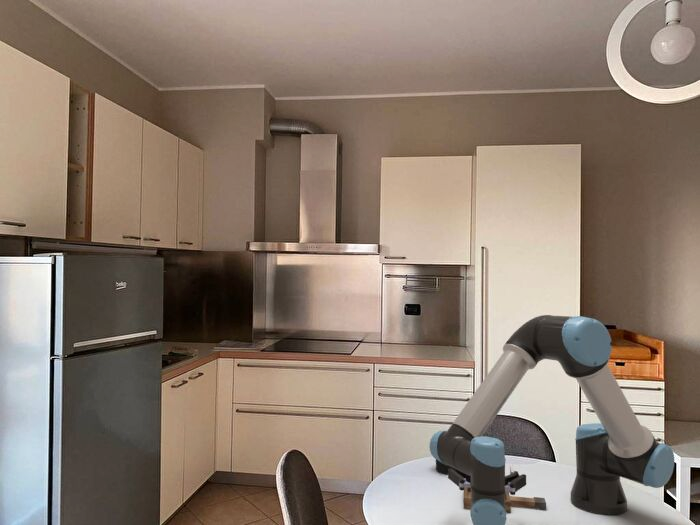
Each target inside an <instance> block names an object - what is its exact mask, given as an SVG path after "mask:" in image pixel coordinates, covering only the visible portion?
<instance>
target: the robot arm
mask: <svg viewBox="0 0 700 525" xmlns="http://www.w3.org/2000/svg"><path fill="white" fill-rule="evenodd" d="M611 343H612V337H611V335H610V333H609V329H607V327H606V326H605V325H604V324H603V323H602V322H600V321H599V320H597V319H595V318H592V317H587V316H581V315H578V316H570V315H569V316H565V315H551V314H543V315H538V316H534V317H533V318H531V319H530V320H528V321H526V322H525V323H524V324H522V325H521V326H519V328H518V329H516V330H515V331H514V332H513V333H512V334H511V336H510V337H509V338H508V339H507V340H506V342H505V344H504V345H503V347H502V351H503V353H502V354H501V355H500V357H499V358H498V360H497V361H496V362H495V364H494V365H493V367H492V368H491V370H490V371H489V372H488V374H487V375H486V376H485V378H484V379H483V380H482V382H481V383H480V385H479V386H478V387H477V389H475V392H474V393H473V394H472V395H471V398H470V399H469V400H468V401H467V402H466V404H465V405H464V407H463V408H462V410H461V411H460V413H459V414H458V415H457V417H456V418H455V419H454V421H453V422H452V424H451V425H450V426H449V428H448V429H447V430H439V431H437V432H434V434H432V436H431V438H430V441H429V451H430V455H431V456H432V458H434V459H435V460H436V459H437V460H438V461H440V462H441V463H443V464H445V465H448V466H450V467H453V468H455V470H453V469H451V468H449V469H448V474H447V478H448V480H450V481H451V482H452V483H454V484H455V485H456V486H457V487H458V489H459V490H460V491H463V492H464V489H466V487H467V488H470V489H471V509H470V518H471V522H472V525H506V524H507V523H506V521H507V513H506V511H505V491H508V492H509V495H510V496H515V495H516V493H517V492H518V491H520V490H521V489H522V488H524V487H525V486H527V474H520V473H519V472H518V470H517V471H515V470H514V465H513V464H509V474H508V475H506V456H505V455H506V454H505V444H504V442H503V441H502V440H500V439H498V438H497V437H490V436H487V437H485V436H483V435H484V434H485V433H486V431H487V430H488V428H489V427H490V425H491V424H492V422H493V421H494V420H495V418H496V416H497V415H498V414H499V413H500V411H501V410H502V408H503V406H504V405H505V404H506V402H507V401H508V399H509V398H510V396H511V395H512V394H513V393H514V391H515V389H516V388H517V387H518V385H519V383H520V382H521V381H522V379H523V378H524V376H525V374H526V373H527V372H528V371H529V370H533V369H535V368H536V367H537V364H538V363H540V362H541V361H543V360H549V361H550V360H551V361H557V362H558V363H559V364H560V367H561V368H562V369H563V371H564V373H565V374H566V375H567V376H569V377H571V378H573V379H575V380H576V381H577V383H578V385H579V387H580V388H581V390H582V392H583V393H584V395H585V397H586V399H587V401H588V403H589V405H590V406H591V408H592V409H593V411H594V413H595V414H596V417H597V419H598V420H599V422H600V423H599V422H595V423H585V424H584V423H583V424H580V425H578V426H577V428H576V433H575V454H576V456H575V459H576V460H575V462H576V474H575V475H576V476H575V477H574V478H575V479H574V482H573V485H572V487H571V490H570V503H572V505H574V506H575V507H577V508H579V509H580V510H583V511H586V512H590V513H593V514H594V513H595V514H600V515H609V516H610V515H615V516H616V515H620V514H625V513H626V512H627V511H628V499H627V497H626V494H625V491H624V489H623V486H622V483H621V478H624V479H627V480H629V481H632V482H634V483H638V484H640V485H643V486H645V487H651V488H653V489H658V488H660V489H661V488H662V487H664V486H666V484H668V483H669V481H670V479H671V477H672V475H673V473H674V469H675V454H674V451H673V449H672V447H671V446H669V445H667V444H665V443H664V442H659V441H657V439H656V437H655V436H654V434H653V433H652V431H651V430H650V429H649V428H648V427H646V426H645V425H643V424H642V425H641V423H640V421H639V419H638V418H637V416H636V414H635V412H634V411H633V409H632V407H631V405H630V403H629V402H628V399H627V397H626V396H625V394H624V392H623V390H622V389H621V387H620V385H619V383H618V381H617V379H616V378H615V376H614V374H613V372H612V370H611V369H610V367H609V365H608V364H609V362H610V356H611V354H612V349H613V347H612V345H611Z"/></svg>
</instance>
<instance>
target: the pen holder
mask: <svg viewBox="0 0 700 525" xmlns="http://www.w3.org/2000/svg"><path fill="white" fill-rule="evenodd" d="M449 468H451V469H453V470H455V468H453V467H450V466H448V465H445V464H443V463H441V462H440V461H438V460H437V459H435V469H436V471H437V472H438V473H440V474H442V473H444V475H448V469H449Z"/></svg>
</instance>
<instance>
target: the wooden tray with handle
mask: <svg viewBox="0 0 700 525" xmlns="http://www.w3.org/2000/svg"><path fill="white" fill-rule="evenodd" d="M513 507H514V508H524V509H533V510H538V509H539V510H540V511H546V510H547V502H546V498H545V497H537V496H533V497H524V496H523V497H522V496H515V495H511V494H510V493H509V492H508V491H505V511H506V512H507V513H506V514H511V513H512V510H511V509H512V508H513ZM463 509H464V510H471V489H470V488H467V487H466V489H464V490H463ZM539 510H538V511H539Z"/></svg>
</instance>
